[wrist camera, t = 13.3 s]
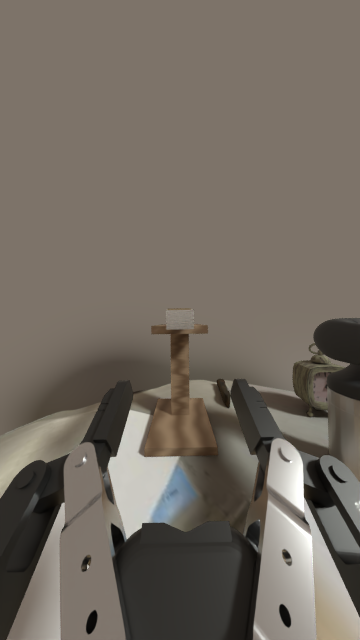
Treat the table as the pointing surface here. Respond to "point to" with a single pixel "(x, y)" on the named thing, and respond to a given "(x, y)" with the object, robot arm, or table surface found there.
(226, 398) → the hand tool
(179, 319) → the bar
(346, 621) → the table surface
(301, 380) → the tabletop clock
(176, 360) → the stand
